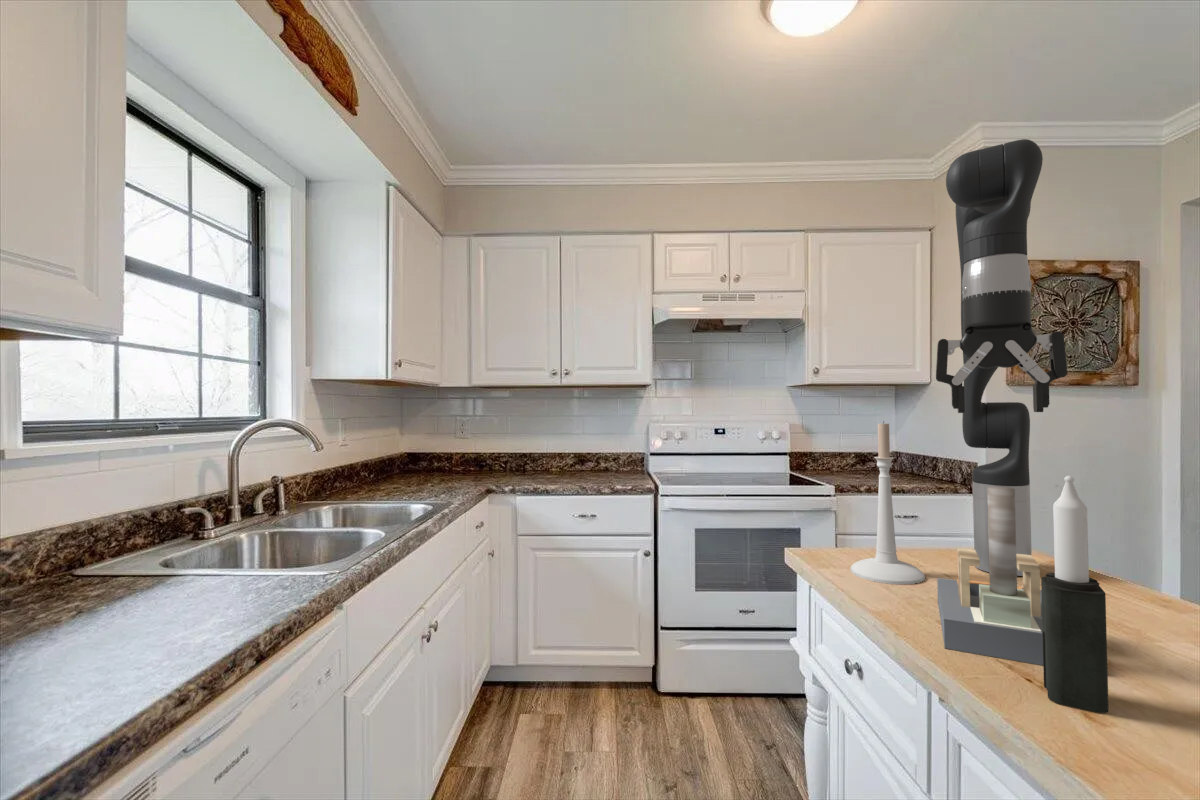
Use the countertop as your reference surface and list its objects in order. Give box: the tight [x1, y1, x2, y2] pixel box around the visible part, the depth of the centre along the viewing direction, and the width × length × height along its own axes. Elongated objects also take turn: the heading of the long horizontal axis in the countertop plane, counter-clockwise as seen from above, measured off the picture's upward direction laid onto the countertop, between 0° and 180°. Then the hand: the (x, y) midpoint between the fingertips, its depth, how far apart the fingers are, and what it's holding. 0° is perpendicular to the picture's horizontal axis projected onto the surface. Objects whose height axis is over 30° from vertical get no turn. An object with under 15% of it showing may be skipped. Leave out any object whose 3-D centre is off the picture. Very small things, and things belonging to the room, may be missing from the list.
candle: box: [1040, 475, 1110, 714], centre depth 61 cm, size 5×5×25 cm
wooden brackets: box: [957, 547, 1041, 617], centre depth 79 cm, size 6×9×7 cm, turn 61°
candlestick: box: [850, 420, 926, 586], centre depth 107 cm, size 13×13×30 cm
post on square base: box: [979, 487, 1031, 628], centre depth 74 cm, size 5×5×18 cm
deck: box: [936, 577, 1043, 666], centre depth 79 cm, size 20×14×4 cm
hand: (998, 412), depth 74 cm, fingers open, 8 cm apart
